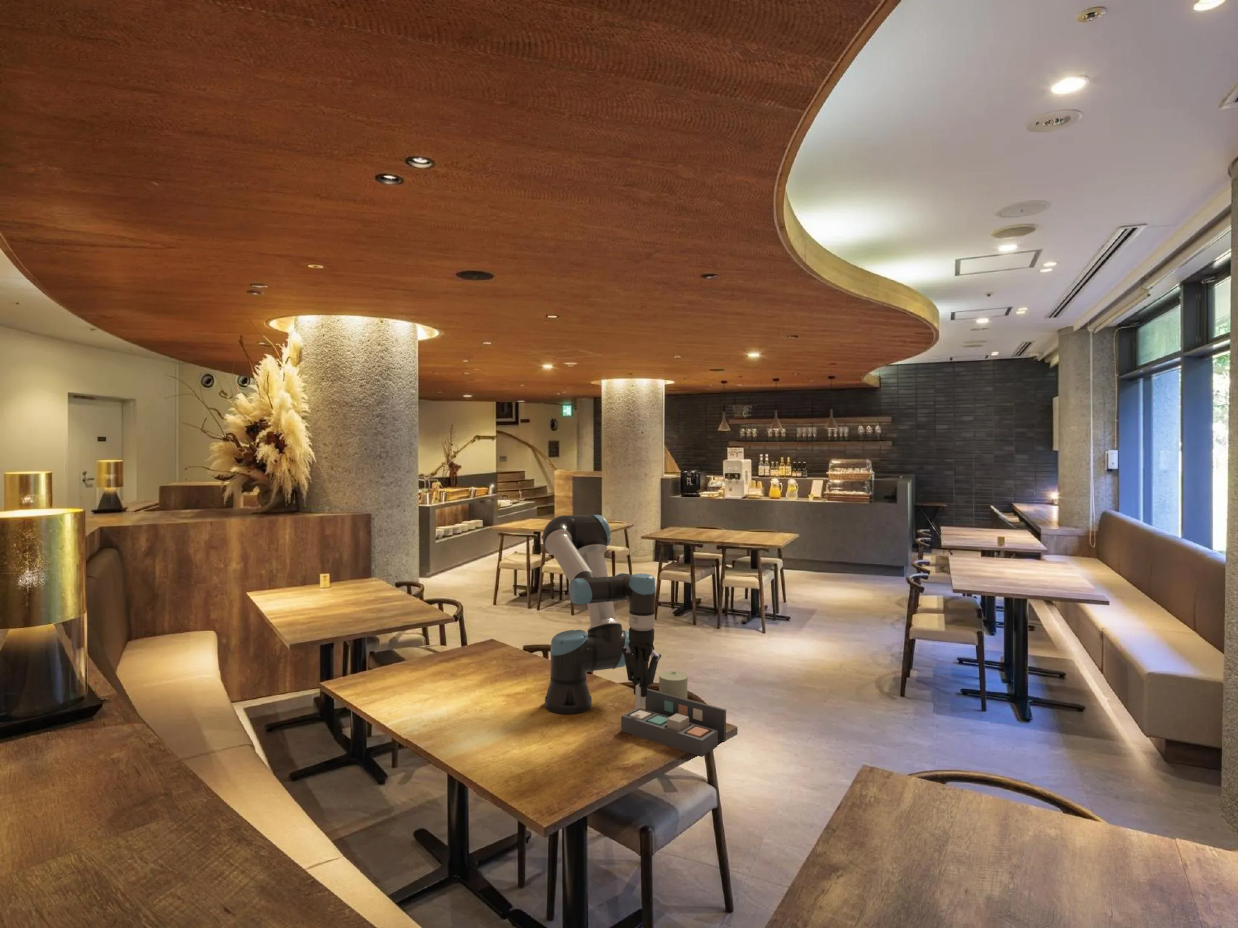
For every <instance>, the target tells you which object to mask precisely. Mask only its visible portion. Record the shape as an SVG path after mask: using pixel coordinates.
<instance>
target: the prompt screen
mask: <svg viewBox="0 0 1238 928" xmlns="http://www.w3.org/2000/svg"><path fill="white" fill-rule="evenodd" d="M644 707H645V708H644V709H646V710H649V711H652V712H656V713H659V714H663V715H666V716H670V717H671V716H673V715H674V714H676V713H677V714H681V715H684V716H688V717H689V722H690V723H694V724H697V725H701V726H704V727H708V728H711V729H715V730H718V742H719V741H720V742H723V743H725V742H727V739H726V738H727V709H726V708H723V707H718V706H716V705H715V706H714V705H710V704H706V703H704V702H700V701H696V700H691V699H688V698H687V699H685V698H681V697H677V696H674V695H670V694H666V693H662V692H659V690H654V689H650V688H647V696H645V706H644ZM725 739H726V740H725ZM723 740H724V741H723Z"/></svg>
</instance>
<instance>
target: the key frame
mask: <svg viewBox="0 0 1238 928" xmlns="http://www.w3.org/2000/svg"><path fill="white" fill-rule="evenodd" d="M639 710H641V711H645V712H648V713H651V716H649V717H647V718H645V719H643V720H639V719H635V718H632V717H630V715H631V714H633V713H635V712H637V711H639ZM657 715H658V716H662V717H665V718H669V717H670V716H666V715H663V714H659V713H656V712H652V711H649V710H646V709H645V708H643V707H641V708H636V707H635V708H634V709H632V710H631V711H628V712H627V713H624V714H622V715H620V717H621V718H620V719H621V720H620V731H621V732H623V733H625V734H629V735H632V736H635V737H638V738H641V739H644V740H647V741H650V742H654V743H657V744H660V745H664V746H666V747H670V748H672V749H675V750H678V751H682V752H684V753H688V754H691V755H694V756H696V757H700V758H702V757H705V756H706V755H707V754H709V753H710V752H712V751H713V750H715V749H716V748H717V747H718V743H719V740H718V730H715V729H711V728H708V727H704V726H701V725H697V724H694V723H690V722H689V727H688V728H686V729H684V730H683V731H681V732H678V731H675V730H672V729H668V728H667V723H665V724H663V725H662V726H658V725H655V724H652V723H649V722H648V720H650V719H652V718H654V717H656V716H657ZM694 727H700V728H703V729H706V730H709V733H708V734H707V735H705V736H704V737H702V738H698V737H695V736H692V735H688V734H687V732H688V731H689V730H691V729H693V728H694Z"/></svg>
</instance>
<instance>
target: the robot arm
mask: <svg viewBox="0 0 1238 928" xmlns="http://www.w3.org/2000/svg"><path fill="white" fill-rule="evenodd" d="M611 535H612V534H611V528H610V525H609V523H608V521H607V519H606V518H605V516H603V515H600V514H592V513H590V514H571V515H569V514H568V515H566V514H564V515H560V516H556V517H554V518H552V519H551V520H550V521H549V522H548V523H547V524H546V525H545V527H544V529H543V532H542V535H541V536H542V538H541V539H542V543H543V547H544V548H545V550H546V551H547V552H548V553H549V554H550V555H552V556H553V558H554V559H555V560H556V562H557V564H558V565H559V568H561V570H562V572H563V573H564V575H565V577H566V578H567V579H568V581H569V585H568V596H569V599H570V601H571V603H572V604H575V605H587V610H588V616H589V623H590V625H589V627H588V629H587V631H585V630H583V629H569V630H563V631H561V632H558V633H557V634H555V635H554V636H553V637H552V638H551V641H550V650H549V652H550V653H549V654H550V682H549V685H548V687H547V688H548V689H547V692H546V695H545V698H544V708H545V709H546V710H547V711H549V712H551V713H555V714H560V715H573V714H574V715H576V714H581V713H584V712H587V711H589V710H590V709H591V708H592V705H593V698H592V695H591V694H590V688H589V685H588V681H587V680H588V679H587V678H588V677H587V674H588V672H595V671H604V670H610V669H611V670H615V669H619V668H623V667H625V668H626V674H627V679H628V681H629V682H631V683H632V684H633V695H634V696H635V703H634V704H635V707H634V708H635V709H636V708H643V707H645V699H646V696H647V689H648V686H650V685H652V684H653V683H654V680H655V676H656V673H657V668H658V664H659V661H660V660H661V658H662V654H661V653H657V651H655V646H654V641H655V625H656V621H655V619H656V618H655V617H656V615H655V611H656V610H655V609H656V590H657V587H656V578H655V577H654V575H653V574H650V573H649V574H648V573H643V572H642V573H634V574H629V573H626V572H625V573H624V572H623V573H622V572H620V573H617V574H616V575H614V576H613V575H612V576H608V569H607V564H606V558H605V553H606V552H607V549H608V546H609V545H610V543H611V539H612V538H611ZM620 601H621V602H622V601H625V602H628V605H629V606H628V608H629V609H628V611H629V614H628V617H629V618H628V625H629V628H628V631H627V630H625V629H624V630H623V626H622V623H621V622H620V621H618V620H617V619H616V613H615V607H614V602H620Z"/></svg>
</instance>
